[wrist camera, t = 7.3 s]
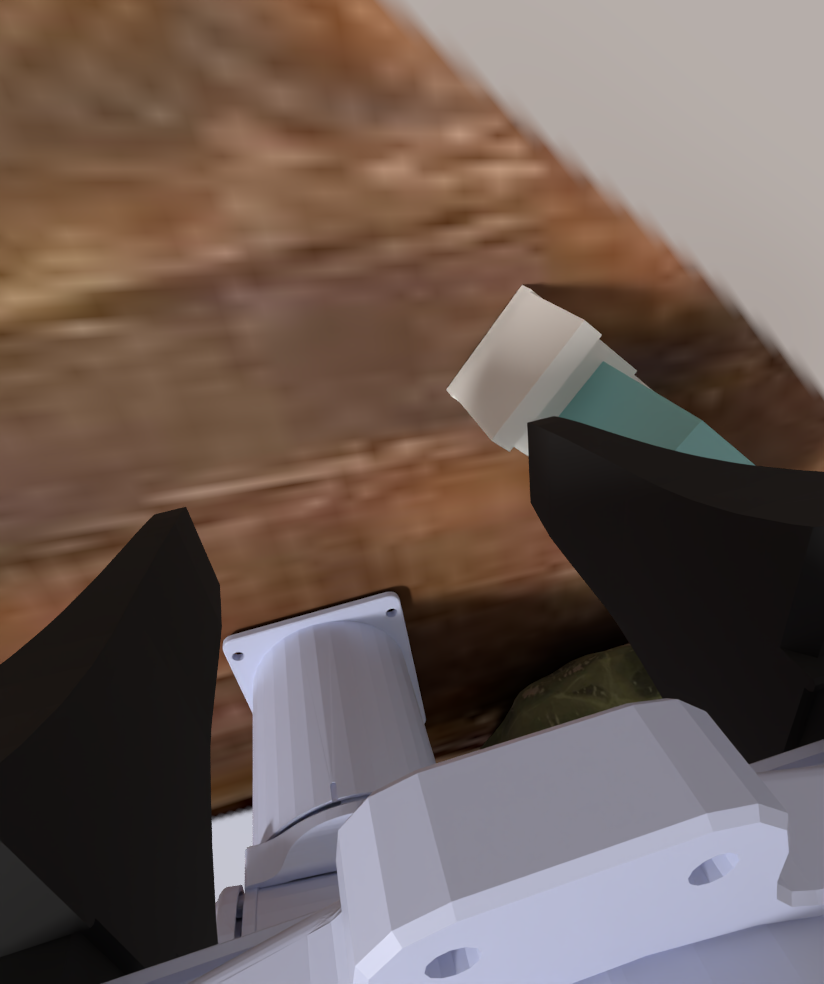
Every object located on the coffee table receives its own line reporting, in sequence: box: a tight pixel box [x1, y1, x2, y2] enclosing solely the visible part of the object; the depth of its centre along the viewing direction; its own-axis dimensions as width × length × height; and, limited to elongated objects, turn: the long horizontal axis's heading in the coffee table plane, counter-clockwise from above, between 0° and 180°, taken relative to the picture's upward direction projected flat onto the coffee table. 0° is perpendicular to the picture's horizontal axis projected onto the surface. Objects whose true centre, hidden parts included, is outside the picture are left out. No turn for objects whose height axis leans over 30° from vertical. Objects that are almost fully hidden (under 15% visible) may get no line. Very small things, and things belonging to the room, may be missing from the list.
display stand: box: [446, 285, 653, 456], centre depth 22 cm, size 12×5×5 cm, turn 54°
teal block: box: [558, 361, 755, 466], centre depth 20 cm, size 9×4×5 cm, turn 54°
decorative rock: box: [479, 643, 662, 750], centre depth 30 cm, size 15×16×10 cm
